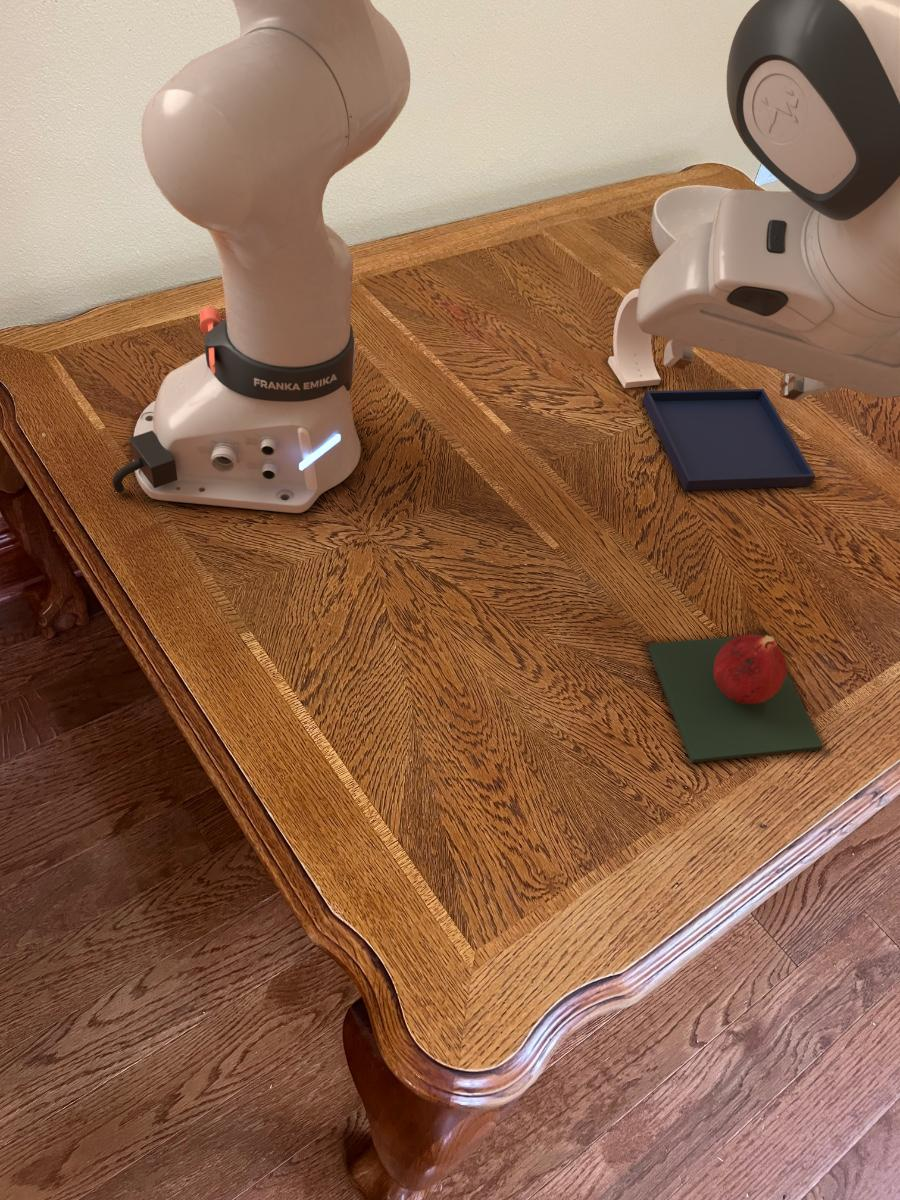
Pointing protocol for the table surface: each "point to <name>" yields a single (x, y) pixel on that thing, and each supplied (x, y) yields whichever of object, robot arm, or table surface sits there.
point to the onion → (750, 669)
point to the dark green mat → (727, 708)
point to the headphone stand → (632, 347)
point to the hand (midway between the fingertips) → (731, 375)
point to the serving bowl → (683, 212)
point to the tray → (726, 439)
